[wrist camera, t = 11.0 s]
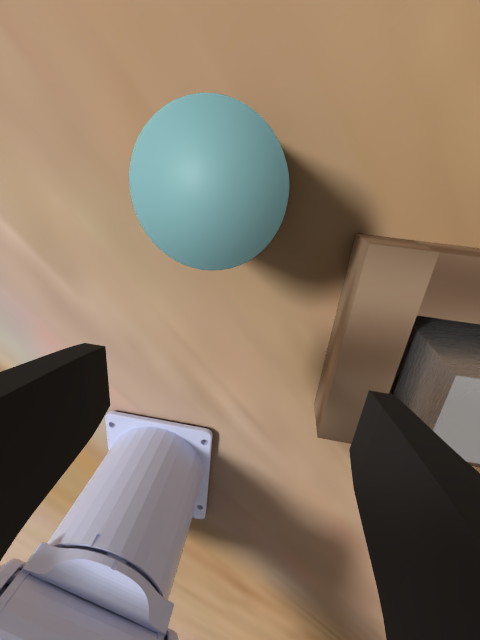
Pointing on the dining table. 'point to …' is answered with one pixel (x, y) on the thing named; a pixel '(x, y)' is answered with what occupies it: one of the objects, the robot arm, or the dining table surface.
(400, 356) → the walnut bore block
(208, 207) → the round bit
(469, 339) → the square bit
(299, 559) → the dining table surface
